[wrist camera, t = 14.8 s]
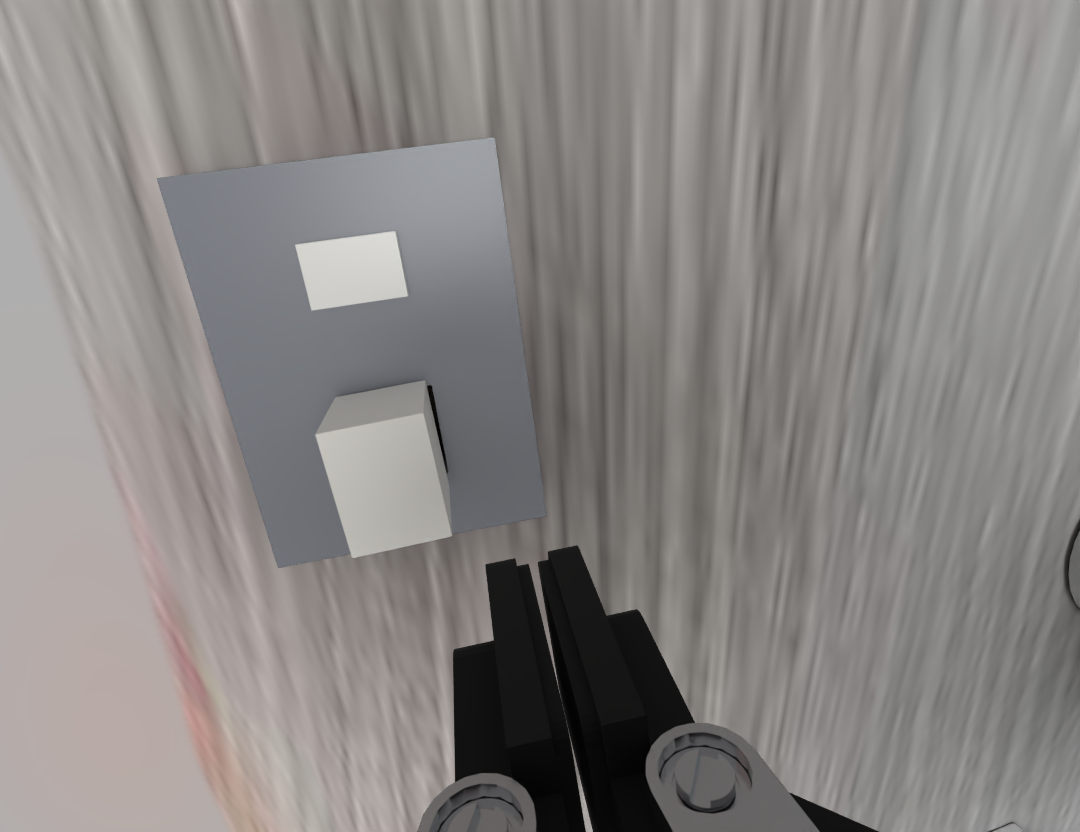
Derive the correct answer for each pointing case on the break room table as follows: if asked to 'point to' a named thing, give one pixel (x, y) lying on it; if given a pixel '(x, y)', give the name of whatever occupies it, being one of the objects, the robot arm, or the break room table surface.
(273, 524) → the socket plate
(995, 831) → the gable box
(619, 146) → the break room table surface
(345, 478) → the plug
